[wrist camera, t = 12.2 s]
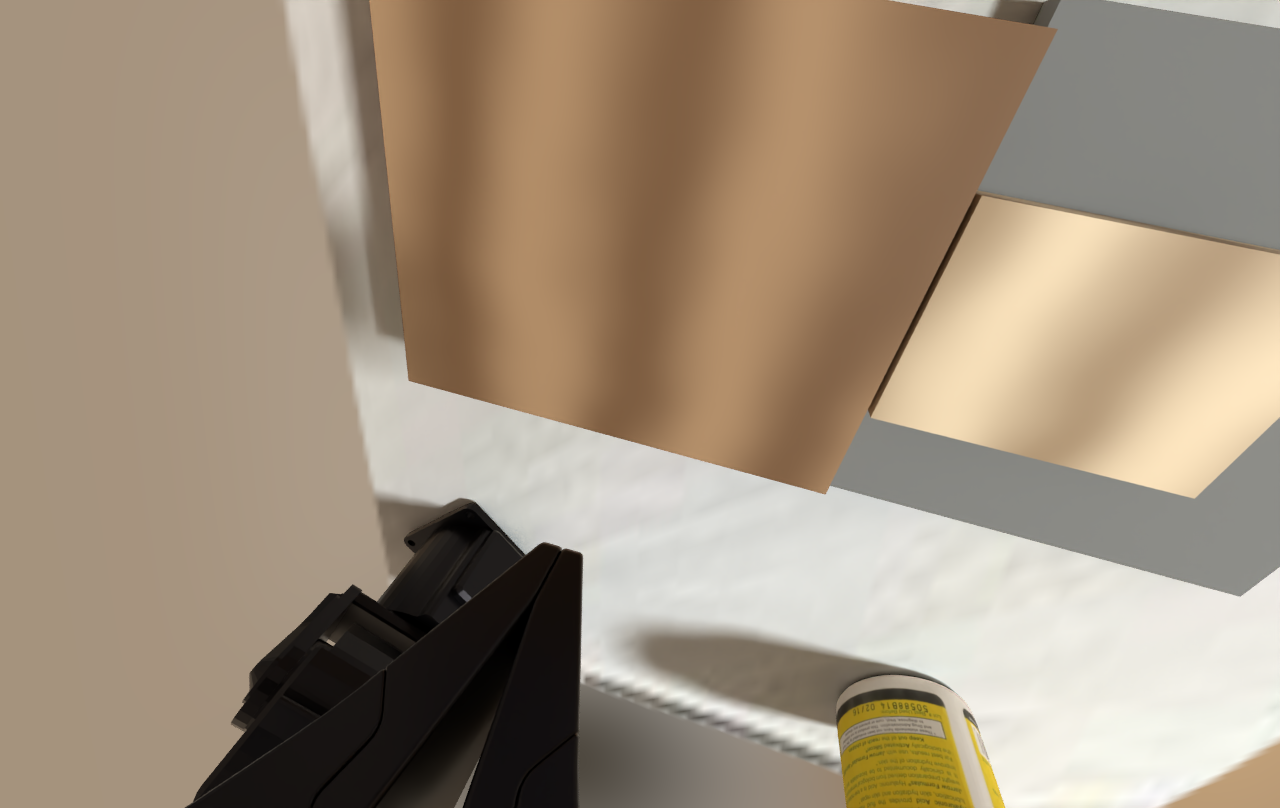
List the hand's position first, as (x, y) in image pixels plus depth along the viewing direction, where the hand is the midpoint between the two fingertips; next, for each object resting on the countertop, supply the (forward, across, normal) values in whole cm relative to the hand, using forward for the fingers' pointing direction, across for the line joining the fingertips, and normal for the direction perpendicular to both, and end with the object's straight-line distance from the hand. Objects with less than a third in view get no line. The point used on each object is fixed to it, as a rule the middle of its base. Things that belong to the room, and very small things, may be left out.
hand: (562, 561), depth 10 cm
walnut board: (+12, +1, -4) cm, 13 cm away
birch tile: (+10, -12, -4) cm, 16 cm away
